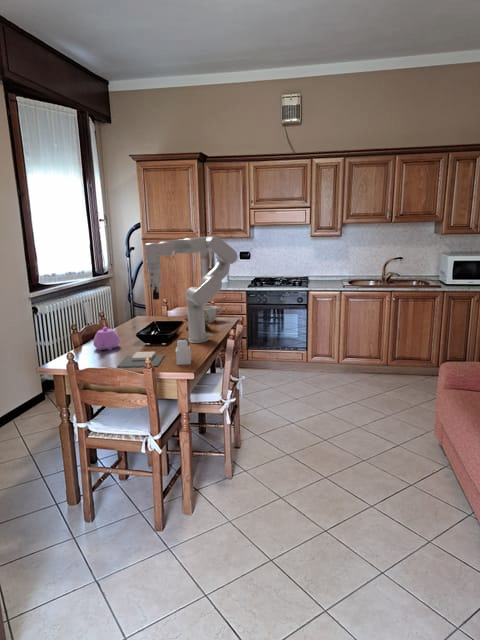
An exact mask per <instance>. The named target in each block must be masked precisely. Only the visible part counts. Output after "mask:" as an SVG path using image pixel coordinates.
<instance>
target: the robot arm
mask: <svg viewBox="0 0 480 640" xmlns="http://www.w3.org/2000/svg"><path fill="white" fill-rule="evenodd" d="M144 251H145V261H146V269H147V270H148V283H149V288H151V289H152V300H160V290H159V287H161V286H162V285H163V283H162V275H161V268H162V267H161V256H164V257H169V256H172V255H173V254H189V255H190V254H198V253H207V252H208V253H209V252H213V253H214V254H215V255H216V263H215V266H213V268H211V270H210V271H208V272H207V274H205V275H203V277H202V278H201V279H200V283H199V284H200V286H199V287H198V286H191V287H188V289H187V290H186V292H185V304H186V309H187V312H188V322H187V324H188V325H187V327H188V328H189V331H188V337H187V338H186V339H188V340H189V343H190V344H200V343H205V342H208V341H209V338H214V334H212V333H207V332H206V331H205V321H204V307H203V306H206V304H207V303H208V302H210V301H211V300H212V299H213V298H214V297H215V296H216V295H217V294H218V293H219V292H220V291H221V289H222V287H223V280H224V279H225V278H226V277H227V275H228V274H229V271H230V267H231V265H232V264H234V263H236V262H237V260H238V258H239V257H238V253H237V251H236V250H235V249H234V248H233V247H232V246H231V245H229V244H227V242H226V241H224V240H223V239H221V238H220V237H219V236H215V235H214V236H212V235H207V236H200V237H199V236H198V237H187V238H182V239H181V238H180V239H172V240H162V241H159V242H147V243H145V245H144Z"/></svg>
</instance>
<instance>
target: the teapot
mask: <svg viewBox="0 0 480 640" xmlns="http://www.w3.org/2000/svg"><path fill="white" fill-rule="evenodd" d="M119 344H120V338H119V335H118V334H117V332H116V331H115V329H113V328H108V327H107V326H105V327H102V329H100V330H98V331H97V332H96V333H95V335H94V339H93V347H95V348H96V349H97V350H98V351H99V352H101V351H103V350H107V351H109V352H111V351H113V349H114V348H117V347H118V346H119Z"/></svg>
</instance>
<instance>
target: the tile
mask: <svg viewBox="0 0 480 640" xmlns="http://www.w3.org/2000/svg"><path fill="white" fill-rule="evenodd" d="M154 355H156V351H136V352H135V353H134V354H133V355H132V356H133V357H132V358H131V359H132V361H141V360H145V358H146V357H150V358H151V360H152V358H153V357H154Z"/></svg>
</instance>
